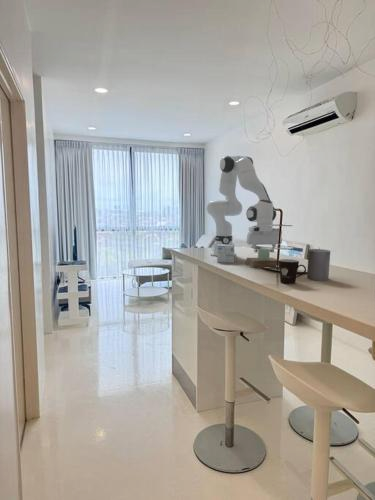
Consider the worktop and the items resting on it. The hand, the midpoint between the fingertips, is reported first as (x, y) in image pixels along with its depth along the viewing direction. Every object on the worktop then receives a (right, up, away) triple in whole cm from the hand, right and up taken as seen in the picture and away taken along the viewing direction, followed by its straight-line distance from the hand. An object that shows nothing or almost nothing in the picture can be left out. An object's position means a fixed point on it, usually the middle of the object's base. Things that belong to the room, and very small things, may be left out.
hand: (263, 252), depth 196 cm
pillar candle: (+18, -13, -35) cm, 41 cm away
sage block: (0, -4, 0) cm, 4 cm away
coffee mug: (+1, -14, -46) cm, 48 cm away
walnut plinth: (0, -8, +1) cm, 8 cm away
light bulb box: (-20, -6, +16) cm, 27 cm away
